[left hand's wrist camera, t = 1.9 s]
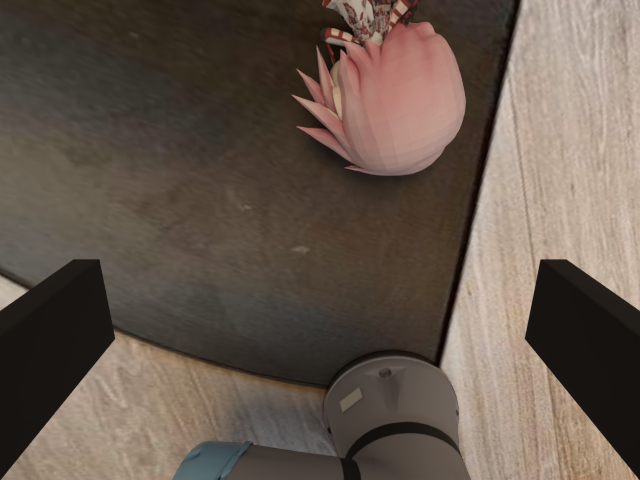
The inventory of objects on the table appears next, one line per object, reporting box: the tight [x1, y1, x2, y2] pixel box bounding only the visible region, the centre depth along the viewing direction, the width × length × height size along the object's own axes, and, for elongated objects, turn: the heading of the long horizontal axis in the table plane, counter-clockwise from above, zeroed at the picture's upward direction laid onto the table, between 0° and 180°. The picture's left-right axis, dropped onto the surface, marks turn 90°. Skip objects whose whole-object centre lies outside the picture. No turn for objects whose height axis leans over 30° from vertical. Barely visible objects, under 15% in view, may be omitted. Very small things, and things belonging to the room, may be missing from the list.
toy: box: [292, 0, 466, 176], centre depth 32 cm, size 12×11×15 cm
